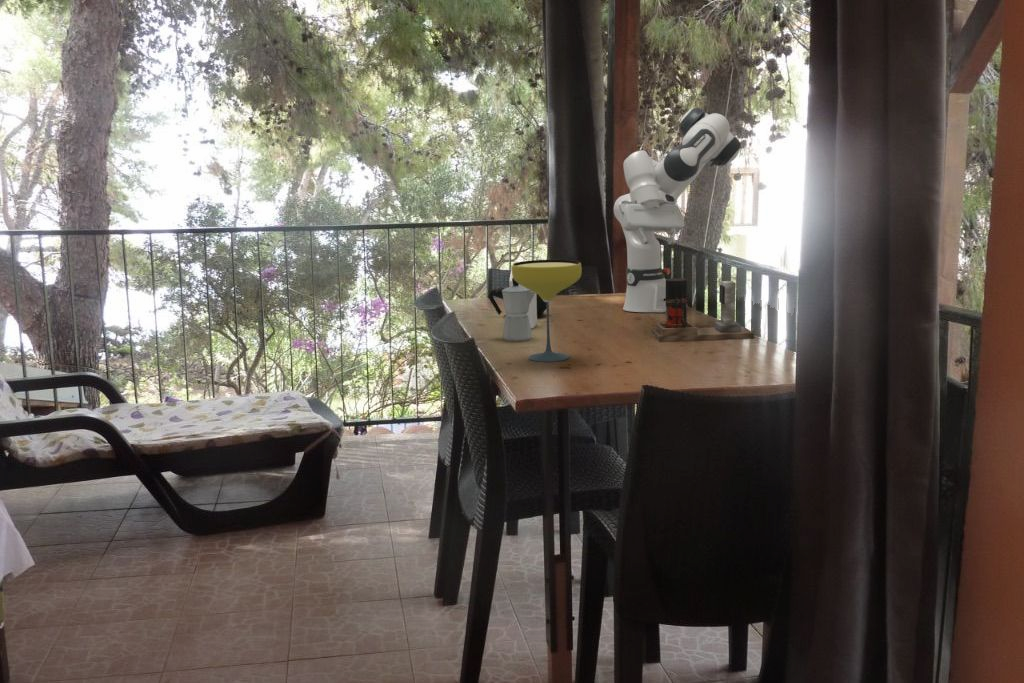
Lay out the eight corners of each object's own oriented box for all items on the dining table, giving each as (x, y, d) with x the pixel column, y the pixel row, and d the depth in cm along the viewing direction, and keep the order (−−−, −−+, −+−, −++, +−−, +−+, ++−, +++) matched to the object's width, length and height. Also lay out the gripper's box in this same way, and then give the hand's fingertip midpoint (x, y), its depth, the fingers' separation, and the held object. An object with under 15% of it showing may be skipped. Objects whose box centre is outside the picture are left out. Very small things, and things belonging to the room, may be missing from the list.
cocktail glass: (587, 363, 247) (586, 265, 242) (517, 366, 245) (514, 268, 241) (577, 349, 264) (576, 258, 260) (511, 352, 263) (509, 260, 258)
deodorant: (661, 331, 278) (661, 279, 276) (678, 329, 281) (679, 277, 278) (673, 334, 273) (673, 281, 270) (690, 332, 276) (691, 279, 273)
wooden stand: (658, 341, 272) (658, 287, 269) (651, 334, 283) (651, 282, 280) (753, 338, 273) (754, 283, 270) (743, 331, 284) (743, 278, 281)
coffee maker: (542, 336, 285) (541, 275, 281) (533, 342, 277) (531, 279, 273) (495, 334, 290) (493, 275, 286) (484, 340, 281) (482, 279, 278)
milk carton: (533, 329, 297) (531, 267, 294) (510, 328, 299) (508, 267, 295) (537, 325, 304) (535, 264, 301) (515, 324, 306) (513, 265, 302)
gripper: (623, 195, 279) (635, 237, 274) (680, 197, 288) (692, 239, 284) (612, 205, 284) (623, 248, 279) (669, 208, 293) (680, 248, 289)
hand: (658, 243), depth 282 cm, fingers open, 8 cm apart
